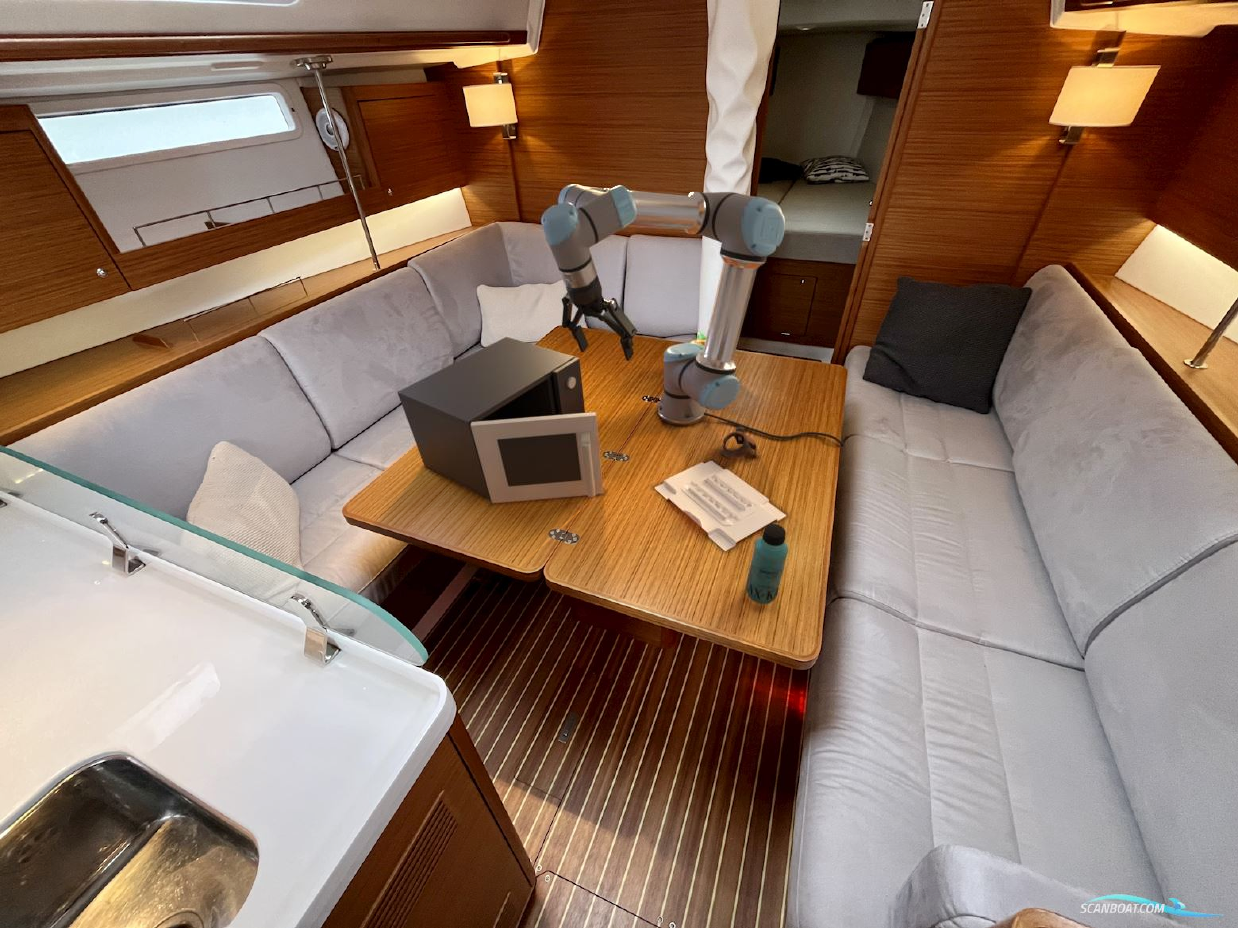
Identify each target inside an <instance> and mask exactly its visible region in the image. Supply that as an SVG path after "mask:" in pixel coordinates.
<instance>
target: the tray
mask: <svg viewBox="0 0 1238 928" xmlns="http://www.w3.org/2000/svg"><path fill="white" fill-rule="evenodd" d="M654 489H655V490H656V492H658V493H659V494H660V495H661V496H663V498H665V499H666V500H670V501H671V502H672V503H673V504H675V506H677V507H678V508H679V509H680V510H681V511H682V512H683V513H685V514H686V515H687V516H688V517H689V518H690V519H691V520H693V522H695V523H696V524H697V525H698V526H699V527H701V529H702V530H704V531H705V532H706V533H707V537H708V538H709V539H710V540H711V541H713V542H714V543H715V544H716V545H717V546H718V547H720V549H722V550H723V551H724V552H727V551H728V550H730V549H732V548H734V547H735V546H736V545H737V543H738V542H739V541H741V540H743V539H745V538H747V537H748V536H750V535H751V534H753V533H755V532H757V531H759V530H761V529H762V528H765V527H766V526H767V525H769V524H772V523H773V522H774V521H777V522H778V521H781V520H782V519H783V518H786V517H787V515H786V514H785V513H784V512H782V511H781V510H780V509H778V508H777V507H776V506H774V505H773V504H771V503H770V499H769V498H768V497H767V496H765V495H764V494H762V493H761V492H760V491H758V490H757V489H755V488H754V487H753V486H752V485H750V484H748V483H747V482H745V481H744V480H743V479H741V478H740V477H739V476H737V475H736V474H735V473H733V472H732V471H731V470H729V469H728V468H725V469H724V468H723V467H721V465H718V464H717V463H716V462H714V461H713V460H709V461H707V462H705V463H704V462H703V461H702V462H700V463H697V464H696V465H693V466H691V467H689V468H687V469H685V470H683V471H681V472H679V473H676V474H674V475H672V476H670V477H668V478H666V479H664V480H663V483H661V484H659V485H656V486H654Z"/></svg>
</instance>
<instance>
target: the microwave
mask: <svg viewBox="0 0 1238 928" xmlns="http://www.w3.org/2000/svg"><path fill="white" fill-rule="evenodd" d="M581 369H582V368H581V361H580V358H579V357H576V356H574V355H571V354H567V353H564V352H561V351H557V350H553V349H551V348H547V347H543V346H540V345H537V344H533V343H529V342H525V341H522V340H519V339H515V338H512V337H508V336H505V337H503V338H501V339H499V340H496V341H495V342H493V343H491V344H490V345H489V344H488V345H487V346H486V347H484V348H483V347H482V349H480V350H477V351H475V352H474V353H471V354H470V355H467V356H465V357H463V358H461V359H459V360H457V361H456V362H454V363H451V364H449V365H448V366H446V367H444V368H441V369H440V370H438V371H436V372H433V373H432V374H430V375H428V376H426V377H424V378H421V379H420V380H418V381H416V382H414V383H412V384H410V385H408V386H406V387H404V388H403V389H402V388H401V389H400V390H398V391H396V392H397V395H398V398H399V401H400V404H401V406H402V409H403V412H404V415H405V418H406V420H407V423H408V425H409V428H410V431H411V433H412V437H413V438H414V441H415V445H416V447H417V450H418V452H419V455H420V457H421V461H422V463H423V465H424V467H425V468H427V469H429V470H431V471H433V472H435V473H437V474H439V475H440V476H443V477H444V478H447V479H449V480H450V481H453V482H454V483H456V484H458V485H460V486H462V487H464V488H466V489H468V491H469V490H470V491H471V492H473V493H476V494H477V495H479V496H481V497H483V498H485V499H487V500H489V501H491V497H490V494H489V490H488V487H487V483H486V479H485V476H484V472H483V469H482V465H481V462H480V458H479V454H478V451H477V447H476V444H475V440H474V436H473V433H472V429H471V423H472V422H480V421H492V420H504V419H517V418H529V417H541V416H553V415H566V414H578V413H586V409H585V398H584V390H583V380H582V370H581Z"/></svg>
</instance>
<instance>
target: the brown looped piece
mask: <svg viewBox="0 0 1238 928" xmlns="http://www.w3.org/2000/svg"><path fill="white" fill-rule="evenodd" d="M733 437H734V439H735V442H736V444H737V445H741V446H739V447H738V448H736V449H729V448H728V447H726V444H727V442H728V441H729V440H730V439H731V438H733ZM722 443H723V444H722V446H721V447H722V449H721V451H722V455H723V456H724V457H726V458H729V459H736V458H740V459H744V458H745V457H744V452H745V453H746V452H752V451H754V455H755V456H754V457H755V458H758V447H757V444H756V442H755V440H754V439H753V438H752V436H751V435H749V434H746V432H745V428H743V427H741V426H737V427H736V428H735V431H732V432H730V433H728V434H727V435H726V436H725V437H724V438H723V440H722Z"/></svg>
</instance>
